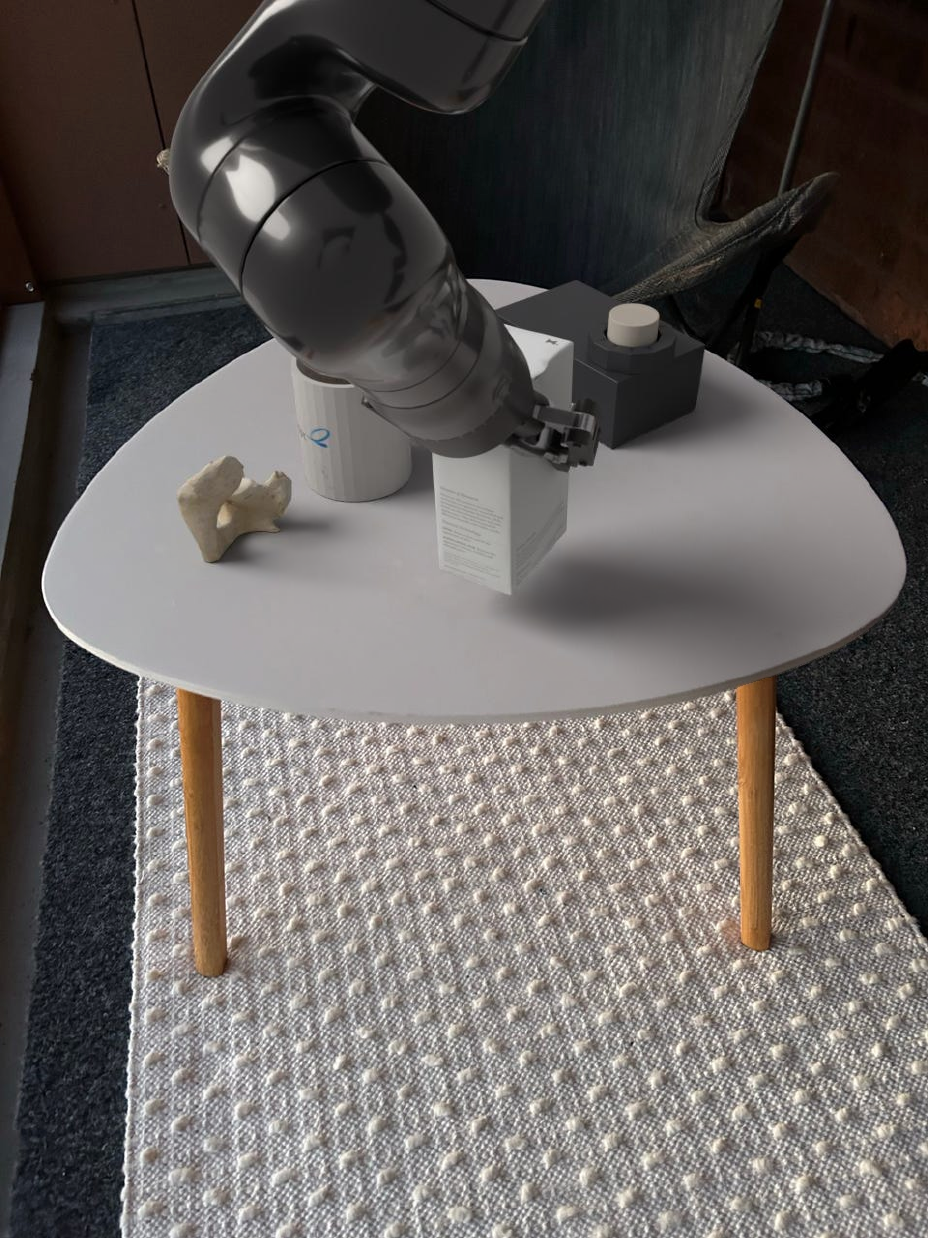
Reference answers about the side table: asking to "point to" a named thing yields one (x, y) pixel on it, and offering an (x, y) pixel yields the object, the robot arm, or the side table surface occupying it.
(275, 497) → the bone
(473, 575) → the cosmetic box
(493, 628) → the side table surface
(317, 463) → the mug
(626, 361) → the dark gray box
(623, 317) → the beige push button
